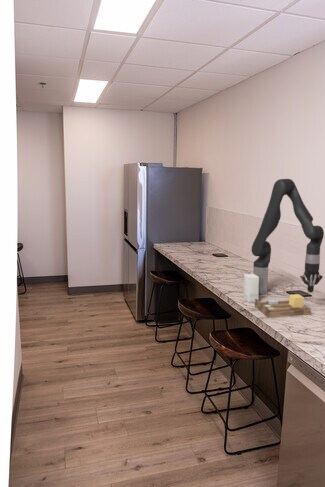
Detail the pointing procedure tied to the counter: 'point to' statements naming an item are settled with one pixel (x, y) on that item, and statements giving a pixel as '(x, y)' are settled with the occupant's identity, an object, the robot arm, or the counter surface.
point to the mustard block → (296, 300)
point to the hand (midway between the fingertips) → (310, 291)
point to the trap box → (281, 309)
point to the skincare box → (251, 287)
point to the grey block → (272, 302)
